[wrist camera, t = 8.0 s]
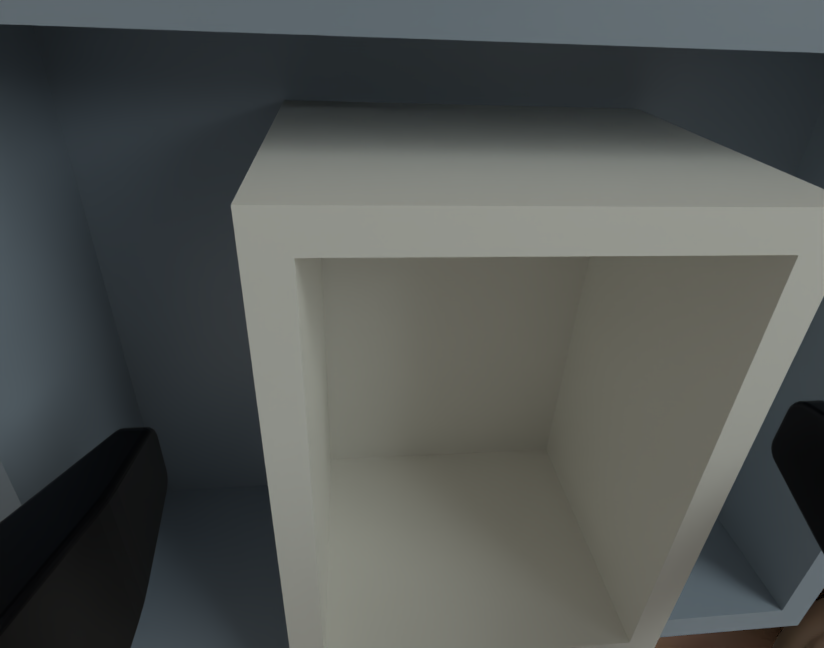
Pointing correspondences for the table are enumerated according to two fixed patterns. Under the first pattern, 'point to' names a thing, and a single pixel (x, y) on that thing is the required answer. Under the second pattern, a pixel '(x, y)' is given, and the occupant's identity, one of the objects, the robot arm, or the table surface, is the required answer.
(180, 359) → the large crate
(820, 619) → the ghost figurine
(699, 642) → the table surface
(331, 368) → the box
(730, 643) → the table surface
